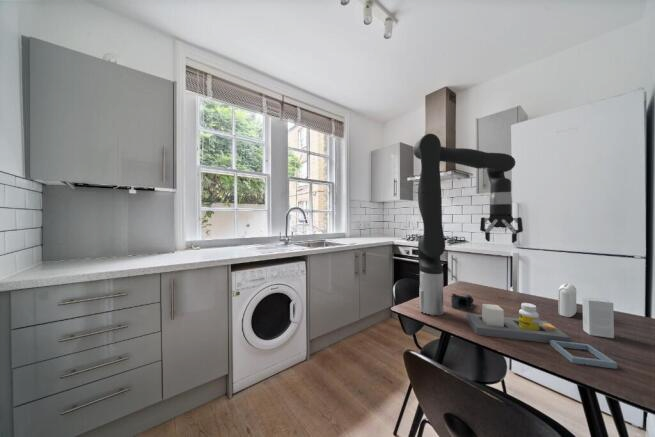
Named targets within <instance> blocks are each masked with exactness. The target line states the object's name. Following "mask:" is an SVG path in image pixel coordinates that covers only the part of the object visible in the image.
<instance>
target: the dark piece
mask: <svg viewBox="0 0 655 437" xmlns="http://www.w3.org/2000/svg"><path fill="white" fill-rule="evenodd" d="M450 297H451V298H450V302H451V307H452V308H453V307H454V308H453V309H457V308H458V310H459V311H465V312H467V313H471V312H472V308H473V307H472V306H473V305H474V301H475V300H474V298H473V297H472V296H471V295H470V294H464V295H458V294H456V293H451V295H450ZM461 309H462V310H461Z"/></svg>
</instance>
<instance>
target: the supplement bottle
mask: <svg viewBox="0 0 655 437" xmlns="http://www.w3.org/2000/svg"><path fill="white" fill-rule="evenodd" d="M520 307H521V308H520V309H519V310H518V318H519V327H521V328H522V329H526V330H536V331H539V320H540V315H539V312H538V311H537V306H536V305H535V304H533V303H529V302H522V303H521V304H520Z"/></svg>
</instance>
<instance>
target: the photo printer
mask: <svg viewBox="0 0 655 437" xmlns="http://www.w3.org/2000/svg"><path fill="white" fill-rule="evenodd" d="M557 294H558V295H557V297H558V300H557V301H558V303H557V305H558V306H557V307H558V309H557V310H558V315H560V316H562V317H564V318H565V317H566V318H571V317H573V316H574V315H576V313H577V288H576V286H574V284H572V283H563V284H561V285H560V287H558V291H557Z"/></svg>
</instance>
